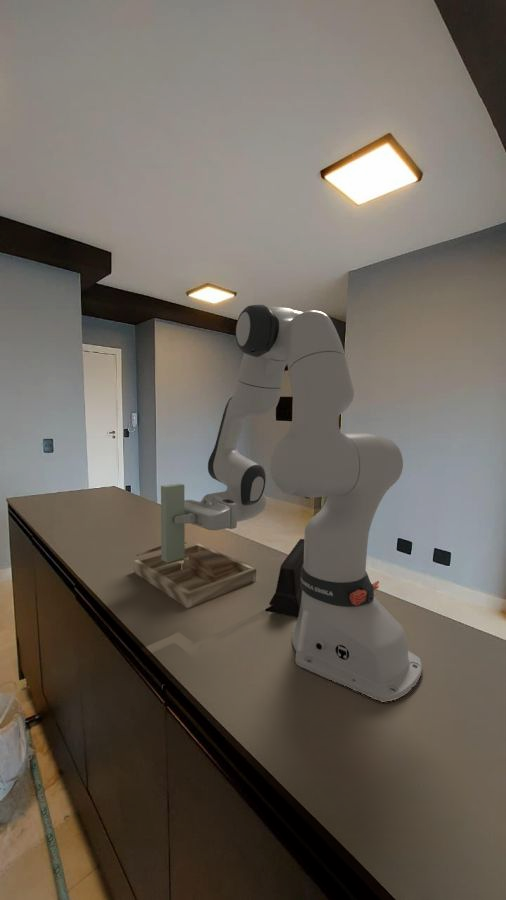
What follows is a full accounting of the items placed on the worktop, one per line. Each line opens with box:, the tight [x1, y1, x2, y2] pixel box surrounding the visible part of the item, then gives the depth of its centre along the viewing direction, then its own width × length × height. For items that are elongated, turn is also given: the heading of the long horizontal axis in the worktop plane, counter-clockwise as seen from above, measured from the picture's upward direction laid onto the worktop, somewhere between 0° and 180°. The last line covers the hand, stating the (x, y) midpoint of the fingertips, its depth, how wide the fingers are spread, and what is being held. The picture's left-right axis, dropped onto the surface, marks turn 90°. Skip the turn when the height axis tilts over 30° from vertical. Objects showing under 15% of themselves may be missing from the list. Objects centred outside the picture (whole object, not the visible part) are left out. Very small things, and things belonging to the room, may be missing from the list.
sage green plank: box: [160, 483, 186, 563], centre depth 90 cm, size 2×5×18 cm, turn 134°
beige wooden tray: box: [133, 543, 257, 609], centre depth 93 cm, size 24×20×4 cm
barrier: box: [265, 538, 304, 619], centre depth 90 cm, size 24×9×10 cm, turn 160°
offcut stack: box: [182, 550, 237, 583], centre depth 95 cm, size 14×7×4 cm, turn 44°
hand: (169, 518), depth 89 cm, fingers closed on sage green plank, 2 cm apart
